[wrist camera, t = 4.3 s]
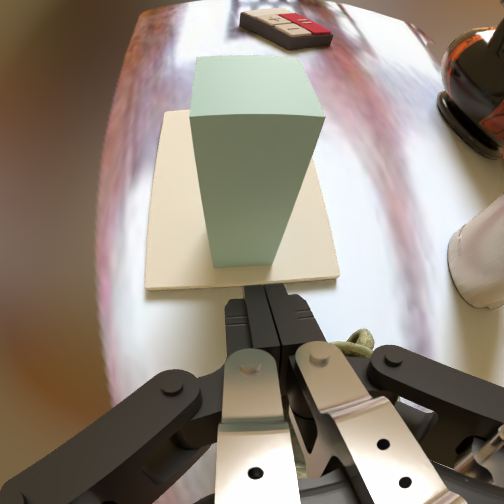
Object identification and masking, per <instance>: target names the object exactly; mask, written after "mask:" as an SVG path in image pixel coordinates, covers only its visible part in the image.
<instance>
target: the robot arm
mask: <svg viewBox="0 0 504 504" xmlns="http://www.w3.org/2000/svg"><path fill="white" fill-rule="evenodd" d="M448 261H449V268H450V272H451V275H452V278H453V281H454V283H455V285H456V287H457V289H458V291H459V293H460V294H461V295H462V297H463V298H464V299H465V300H466V301H467V302H468V303H469V304H470V305H472V306H474V307H477V308H482V307H488V308H489V309H490V310H493V309H496V308H498V307H501V306H503V305H504V193H503V194H502V195H500V196H499V197H498V198H497V199H496V200H495V201H494V202H492V203H491V204H490V205H489V206H488V207H487V208H485V209H484V210H483V211H482V212H481V213H479V214H478V215H477V216H476V217H475V218H473V219H472V220H471V221H470V222H468V223H467V224H465V225H464V226H463V227H462V228H461V229H460V230H458V231H457V232H456V233H454V235H453V236H452V238H451V240H450V243H449V248H448ZM225 324H226V343H227V359H226V361H225V363H224V365H223V366H222V367H221V368H220V369H219V370H217V371H216V372H214V373H212V374H209V375H206V376H202V377H199V378H196V377H195V376H194V375H193V374H191V373H189V372H187V371H184V370H179V369H173V370H166V371H163V372H161V373H159V374H157V375H156V376H154V377H153V378H152V379H150V380H149V381H148V382H147V383H145V384H144V385H143V386H141V387H140V388H139V389H137V390H136V391H135V392H134V393H132V394H131V395H130V396H128V397H127V398H126V399H124V400H123V401H122V402H120V403H119V404H118V405H116V406H115V407H114V408H112V409H111V410H110V411H108V412H107V413H106V414H104V415H103V416H102V417H100V418H99V419H98V420H96V421H95V422H94V423H92V424H91V425H90V426H88V427H87V428H85V429H84V430H82V431H81V432H80V433H78V434H77V435H75V436H74V437H73V438H71V439H70V440H68V441H67V442H66V443H64V444H63V445H61V446H60V447H58V448H57V449H55V450H54V451H52V452H51V453H50V454H48V455H47V456H45V457H44V458H42V459H41V460H39V461H38V462H36V463H35V464H33V465H32V466H30V467H29V468H27V469H26V470H24V471H22V472H21V473H20V474H18V475H16V476H15V477H13V478H12V479H10V480H8V481H7V482H6V483H5V484H4V485H3V486H2V488H1V491H0V504H152V503H153V502H154V501H155V500H157V499H158V498H159V497H160V496H161V495H162V494H163V493H164V492H165V491H167V490H168V489H169V488H170V487H171V486H172V485H173V484H174V483H175V482H176V481H177V480H178V479H179V478H180V477H181V476H182V475H183V474H184V473H185V472H186V471H187V470H188V469H189V468H190V467H191V466H192V465H193V464H194V463H195V462H196V461H197V460H198V459H199V458H200V457H201V456H202V455H203V454H204V453H205V452H206V451H207V450H208V449H209V448H210V446H211V444H213V443H216V442H217V458H216V481H215V493H213V494H211V495H208V496H206V497H204V498H202V499H200V500H199V501H197V502H195V503H194V504H504V388H503V387H501V386H498V385H495V384H493V383H490V382H487V381H485V380H482V379H479V378H477V377H474V376H472V375H469V374H466V373H464V372H461V371H459V370H456V369H454V368H451V367H448V366H446V365H443V364H441V363H438V362H436V361H433V360H431V359H428V358H426V357H424V356H421V355H419V354H416V353H414V352H411V351H409V350H407V349H404V348H402V347H399V346H395V345H383V346H380V347H378V348H376V349H375V350H374V351H373V353H372V355H371V358H360V357H348V356H344V354H343V353H342V351H341V350H340V349H339V348H338V347H337V346H335V345H333V344H331V343H328V342H327V341H326V339H325V337H324V335H323V333H322V331H321V329H320V327H319V325H318V323H317V321H316V319H315V318H314V316H313V314H312V312H311V311H310V308H309V306H308V304H307V302H306V300H304V299H303V298H302V297H300V296H299V295H298V294H293V295H288V294H287V292H286V289H285V287H284V285H283V283H271V284H263V285H262V284H258V285H243V299H230V300H229V302H228V303H227V305H226V306H225ZM284 395H288V399H289V416H290V419H291V422H292V425H293V427H294V430H295V433H296V435H297V438H298V441H299V444H300V446H301V449H302V452H303V454H304V457H305V462H306V473H307V477H308V479H303V478H296V471H295V464H294V457H293V450H292V443H291V437H290V430H289V425H288V422H287V420H284V415H283V408H282V401H281V396H284ZM399 397H403V398H405V399H407V400H409V401H412V402H414V403H416V404H418V405H421V406H423V407H425V408H428V409H430V410H432V411H434V412H432V413H425V412H422V411H420V410H418V409H415V408H413V407H411V406H408V405H406V404H404V403H402V402H400V401H397V400H398V398H399ZM431 460H432V461H431ZM433 461H434V462H433ZM435 462H437V463H435ZM438 463H439V464H438ZM440 464H442V465H444V466H442V465H440ZM445 466H447V467H450V468H453V469H454V470H452V469H449V468H447V467H445Z"/></svg>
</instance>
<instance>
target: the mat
mask: <svg viewBox="0 0 504 504" xmlns="http://www.w3.org/2000/svg"><path fill="white" fill-rule="evenodd" d="M189 114H190V109H188V110H178V111H169V112H165V115H164V119H163V125H162V130H161V135H160V141H159V147H158V153H157V159H156V165H155V172H154V180H153V187H152V196H151V204H150V214H149V225H148V237H147V251H146V270H145V288H146V289H147V290H148V291H150V290H176V289H197V288H216V287H233V286H243V285H258V284H262V285H263V284H271V283H290V282H302V281H314V280H325V279H335V278H338V277H339V276H340V271H339V266H338V261H337V256H336V252H335V247H334V242H333V238H332V233H331V229H330V224H329V220H328V216H327V212H326V208H325V203H324V199H323V196H322V192H321V188H320V184H319V180H318V177H317V173H316V169H315V166H314V162H313V159H312V158H311V161H310V163H309V166H308V169H307V172H306V175H305V177H304V180H303V183H302V186H301V189H300V191H299V194H298V197H297V200H296V202H295V205H294V208H293V211H292V213H291V216H290V219H289V221H288V224H287V227H286V230H285V232H284V235H283V238H282V240H281V243H280V246H279V248H278V251H277V254H276V256H275V259H274V261H273V264H272V265H259V266H243V267H226V268H214V267H213V262H212V257H211V252H210V246H209V241H208V235H207V230H206V224H205V218H204V212H203V206H202V200H201V194H200V188H199V182H198V175H197V169H196V162H195V155H194V149H193V141H192V134H191V127H190V119H189Z"/></svg>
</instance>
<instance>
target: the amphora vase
mask: <svg viewBox="0 0 504 504" xmlns="http://www.w3.org/2000/svg"><path fill="white" fill-rule="evenodd" d="M500 3H501V5H502V6H503V7H504V0H500ZM441 75H442V82H443V85H444V89H445V91H442V92H440V93H439V94H438V96H437V103H438V106H439V109H440V110H441V112H442V114H443V116H444V117H445V119H446V120H447V121H448V123H449V124H450V125H451V127H452V128H453V129H454V130H455V131H456V132H457V133H458V134H459V135H460V136H461V137H462V138H463V139H464V140H465V141H466V142H467V143H468V144H469V145H470V146H471V147H473V148H474V149H475V150H477V151H478V152H479V153H481V154H482V155H484V156H486V157H488V158H491V159H499V158H501V157H502V155H503V151H504V18H503V19H502V20H501V21H500V23H499V24H498V26H494V27H485V28H475V29H471V30H469V31H466V32H465V33H462V34H461V35H460V36H458V37H457V38H456V39H455V40H454V41H453V42H452V43H451V44H450V45H449V47H448V48H447V49H446V52H445V54H444V56H443V58H442V66H441Z"/></svg>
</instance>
